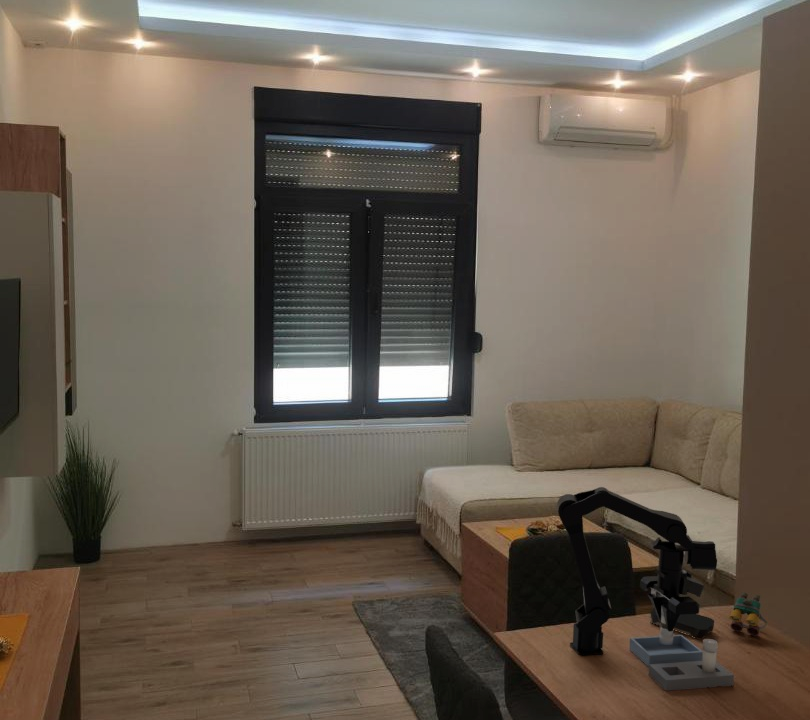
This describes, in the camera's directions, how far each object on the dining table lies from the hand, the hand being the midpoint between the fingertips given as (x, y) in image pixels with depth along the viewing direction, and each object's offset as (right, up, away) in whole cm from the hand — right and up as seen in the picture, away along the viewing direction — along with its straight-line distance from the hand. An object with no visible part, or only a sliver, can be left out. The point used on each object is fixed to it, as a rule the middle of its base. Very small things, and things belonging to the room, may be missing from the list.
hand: (666, 628), depth 209 cm
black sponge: (+10, -6, +19) cm, 22 cm away
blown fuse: (0, -4, 0) cm, 4 cm away
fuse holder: (+2, -8, -12) cm, 14 cm away
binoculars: (+26, -7, +17) cm, 32 cm away
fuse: (+6, -8, -11) cm, 15 cm away
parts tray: (0, -7, +1) cm, 7 cm away
